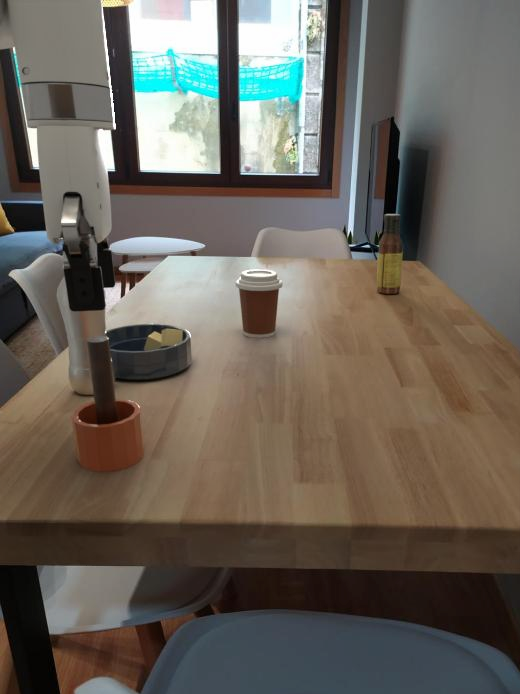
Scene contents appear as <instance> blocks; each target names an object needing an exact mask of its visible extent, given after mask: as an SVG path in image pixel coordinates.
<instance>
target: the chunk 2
mask: <svg viewBox="0 0 520 694" xmlns="http://www.w3.org/2000/svg"><path fill="white" fill-rule="evenodd" d="M182 336H183V330H174V329H165V330H162V335H161V347H171V346H174V345H177V344H179V343H181V342H182Z"/></svg>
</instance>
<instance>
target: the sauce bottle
mask: <svg viewBox="0 0 520 694" xmlns="http://www.w3.org/2000/svg"><path fill="white" fill-rule="evenodd" d="M400 221H401V214H398V213H386V214H384V215H383V222H384V227H383V228H384V229H383V234H382V237H381V238H380V240H379V242H378V252H377V269H376V270H377V271H376V272H377V273H376V274H377V275H376V287H377V288H376V291H377V293H379V294H382V295H397V294H399V293H400V292H401V291H400V289H401V287H402V285H401V284H402V271H403V270H402V269H403V253H404V247H403V244H402V239H401V235H400Z"/></svg>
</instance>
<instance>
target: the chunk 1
mask: <svg viewBox="0 0 520 694" xmlns="http://www.w3.org/2000/svg"><path fill="white" fill-rule="evenodd" d="M161 335H162V334H160V333H157V332H155V331H154V332H153V333H152V334H150V335H149V336H148V338H147V341H146V344H145V347H144V350H145V351H150V350H157V349H163V348H166V347H161Z"/></svg>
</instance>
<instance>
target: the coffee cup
mask: <svg viewBox="0 0 520 694" xmlns="http://www.w3.org/2000/svg"><path fill="white" fill-rule="evenodd" d="M235 288H237V289H238V293H239V302H240V312H241V313H240V314H241V321H242V322H241V323H242V333H243V335H244V336H245V337H249V338H254V339H255V338H256V339H257V338H258V339H262V338H269V337H273V336H275V334H276V325H277V315H278V314H277V313H278V305H279V304H278V303H279V294H280V293H279V292H280V289H282V288H283V280H281V279H280V278H279V277H278V273H277V272H276V271H274V270H269V269H249V270H248V269H247V270H244V271H242V272H241V273H240V277H239V278H238V279H237V280H236V281H235Z"/></svg>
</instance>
